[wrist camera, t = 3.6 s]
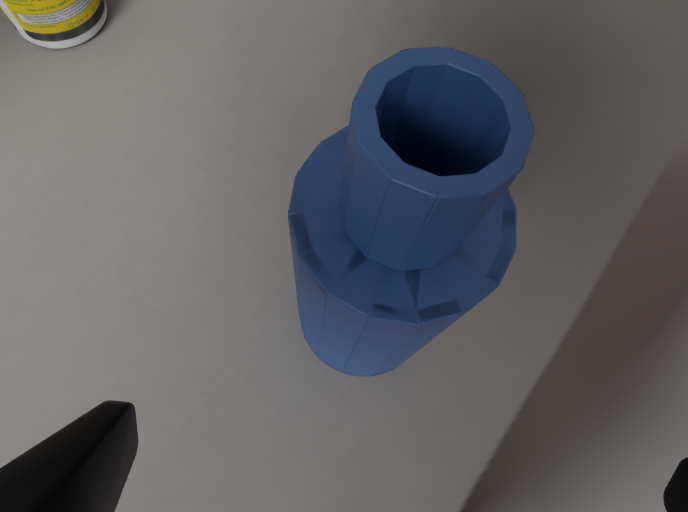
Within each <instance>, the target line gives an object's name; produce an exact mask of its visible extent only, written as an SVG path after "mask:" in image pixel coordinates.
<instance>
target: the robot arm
mask: <svg viewBox="0 0 688 512" xmlns="http://www.w3.org/2000/svg"><path fill="white" fill-rule="evenodd" d="M137 448H138V433H137V423H136V412H135V407H134V405H133V404H132V403H130V402H122V401H112V400H109V401H105V402H103V403H101V404H99V405H98V406H96V407H95V408H93V409H92V410H90V411H89V412H87V413H85V414H84V415H82V416H81V417H79V418H78V419H76V420H75V421H73V422H72V423H70V424H68V425H67V426H65V427H64V428H62V429H61V430H59V431H58V432H56V433H54V434H53V435H51V436H50V437H48V438H47V439H45V440H44V441H42V442H40V443H39V444H37V445H36V446H34V447H33V448H31V449H30V450H28V451H26V452H25V453H23V454H22V455H20V456H19V457H17V458H16V459H14V460H12V461H11V462H9V463H8V464H6V465H5V466H3V467H2V468H0V512H114V511H115V509H116V506H117V503H118V501H119V498H120V496H121V493H122V490H123V488H124V485H125V482H126V480H127V477H128V474H129V472H130V469H131V467H132V464H133V461H134V459H135V456H136V452H137ZM663 496H664V505H665V508H666V510H667V512H688V458H685V459H683V460H682V461H681V462H680V463H679V465H678V467H677V469H676V471H675V472H674V474H673V476H672V478H671V480H670V481H669V483H668V485H667V487H666V488H665V491H664V495H663Z"/></svg>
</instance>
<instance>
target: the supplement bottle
mask: <svg viewBox="0 0 688 512" xmlns="http://www.w3.org/2000/svg"><path fill="white" fill-rule="evenodd" d="M0 8H1V9H2V11H3V12H4V14H5V15H6V16H7V18H8V19H9V20H10V22H11V23H12V24H13V25H14V27H15V29H16V30H17V31H18V32H19V33H20V34H21V35H22V36H23V37H24V38H25V39H26V40H28V41H29V42H31V43H34V44H36V45H39V46H42V47H46V48H54V49H61V48H68V47H73V46H76V45H79V44H81V43H84V42H86V41H87V40H89V39H90V38H92V37H93V36H94V35H95V34H96V33H97V32H98V31H99V30H100V29H101V27H102V26H103V24H104V22H105V20H106V16H107V6H106V2H105V0H0Z"/></svg>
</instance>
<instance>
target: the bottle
mask: <svg viewBox="0 0 688 512" xmlns="http://www.w3.org/2000/svg"><path fill="white" fill-rule="evenodd" d="M533 135H534V128H533V124H532V121H531V118H530V115H529V112H528V109H527V106H526V103H525V100H524V96H523V94H522V93H521V91H520V90H519V89H518V88H517V87H516V86H515V85H514V84H513V83H512V82H511V81H510V80H509V79H508V78H507V77H506V76H505V75H504V74H502V73H501V72H500V71H499V70H498V69H497V68H496V67H495V66H494V65H493V64H491V63H490V62H488V61H486V60H483V59H480V58H478V57H475V56H472V55H470V54H467V53H464V52H461V51H459V50H456V49H453V48H448V47H434V48H414V49H406V50H402V51H400V52H399V53H397V54H395V55H393V56H392V57H390V58H388V59H386V60H384V61H383V62H381V63H379V64H377V65H376V66H374V67H372V68H371V69H370V70H369V71H368V72H367V74H366V76H365V78H364V80H363V82H362V84H361V86H360V88H359V90H358V92H357V94H356V96H355V98H354V100H353V101H352V107H351V115H350V124H349V126H347V127H345V128H344V129H342V130H340V131H339V132H337V133H335V134H333V135H332V136H330V137H328V138H327V139H325V140H323V141H322V142H320V144H318V145H317V147H316V148H315V149H314V151H313V152H312V154H311V155H310V156H309V158H308V159H307V160H306V162H305V163H304V164H303V166H302V167H301V169H300V170H299V171H298V173H297V175H296V177H295V181H294V186H293V191H292V196H291V201H290V206H289V211H288V219H289V228H290V237H291V246H292V255H293V264H294V273H295V282H296V291H297V300H298V309H299V316H300V320H301V325H302V329H303V333H304V337H305V339H306V340H307V342H308V344H309V346H310V347H311V349H312V350H313V351H314V353H315V354H316V355H317V356H318V357H319V358H320V359H321V360H322V361H323V362H324V363H326V364H327V365H329V366H330V367H332V368H334V369H336V370H338V371H340V372H343V373H346V374H350V375H355V376H373V375H378V374H382V373H384V372H387V371H390V370H393V369H395V368H396V367H397V366H399V365H400V364H401V363H403V362H404V361H405V360H406V359H408V358H409V357H410V356H411V355H413V354H414V353H415V352H417V351H418V350H419V349H420V348H422V347H423V346H424V345H425V344H427V343H428V342H429V341H431V340H432V339H433V338H434V337H436V336H437V335H438V334H439V333H441V332H442V331H443V330H445V329H446V328H447V327H448V326H450V325H451V324H452V323H453V322H455V321H456V320H457V319H459V318H460V317H461V316H462V315H464V314H465V313H466V312H467V311H469V310H470V309H471V308H472V307H474V306H475V305H476V304H477V303H479V302H480V301H481V300H482V299H484V298H485V297H486V296H487V295H489V294H490V293H491V292H492V291H494V290H495V289H496V288H497V286H499V284H500V282H501V280H502V278H503V276H504V274H505V272H506V270H507V268H508V266H509V263H510V261H511V259H512V257H513V255H514V253H515V250H516V209H515V208H516V206H515V204H514V202H513V199H512V197H511V195H510V192H509V190H508V186H509V185H510V184H511V183H512V181H513V180H514V179H515V178H516V176H517V175H518V174H519V173H520V171H521V170H522V169H523V167H524V164H525V161H526V157H527V154H528V151H529V148H530V145H531V142H532V139H533Z"/></svg>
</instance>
